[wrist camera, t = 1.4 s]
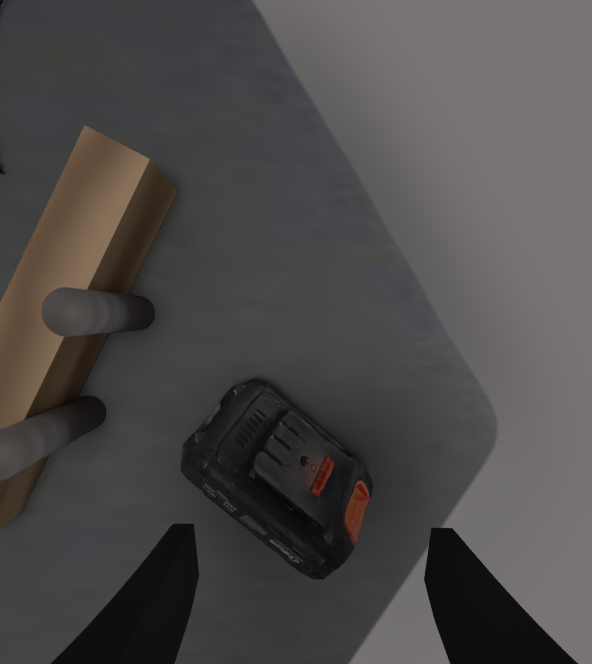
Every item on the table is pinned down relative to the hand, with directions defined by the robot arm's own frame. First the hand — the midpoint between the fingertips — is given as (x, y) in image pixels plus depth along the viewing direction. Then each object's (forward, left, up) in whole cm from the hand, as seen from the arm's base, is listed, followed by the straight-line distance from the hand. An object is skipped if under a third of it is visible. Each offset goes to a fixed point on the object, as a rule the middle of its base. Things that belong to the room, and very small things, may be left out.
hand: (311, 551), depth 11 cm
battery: (0, +3, -15) cm, 15 cm away
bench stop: (+16, +3, -15) cm, 22 cm away
